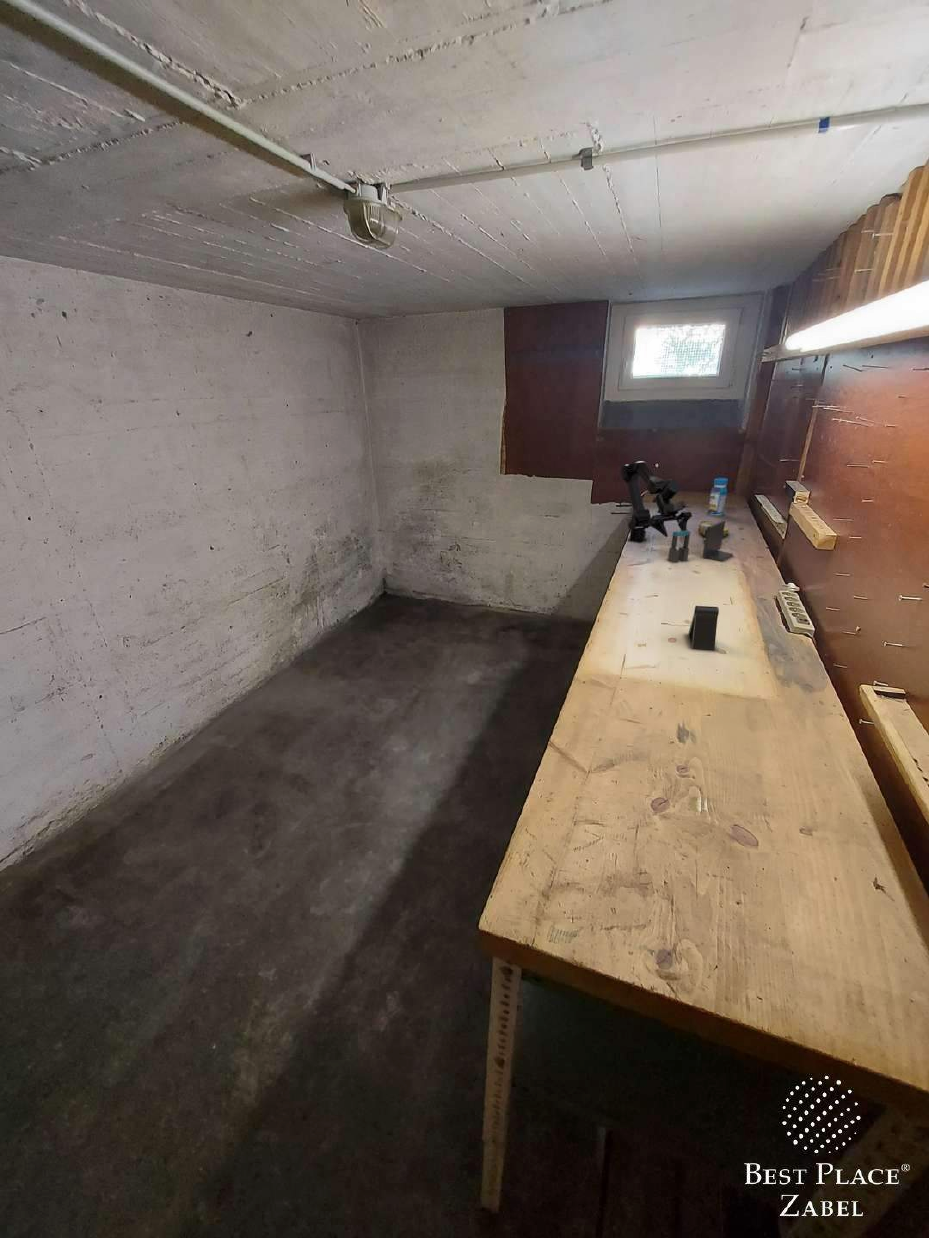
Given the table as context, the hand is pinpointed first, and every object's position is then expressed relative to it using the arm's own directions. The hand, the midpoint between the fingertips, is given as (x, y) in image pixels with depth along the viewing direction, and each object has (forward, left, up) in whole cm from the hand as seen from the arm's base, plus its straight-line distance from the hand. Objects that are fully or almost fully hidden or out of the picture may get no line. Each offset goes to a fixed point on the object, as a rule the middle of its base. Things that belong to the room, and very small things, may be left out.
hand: (676, 535), depth 213 cm
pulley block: (+3, +41, -11) cm, 43 cm away
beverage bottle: (-10, +88, -11) cm, 89 cm away
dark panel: (+12, +13, -10) cm, 20 cm away
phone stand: (+36, -72, -11) cm, 81 cm away
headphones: (+3, -2, -10) cm, 11 cm away
